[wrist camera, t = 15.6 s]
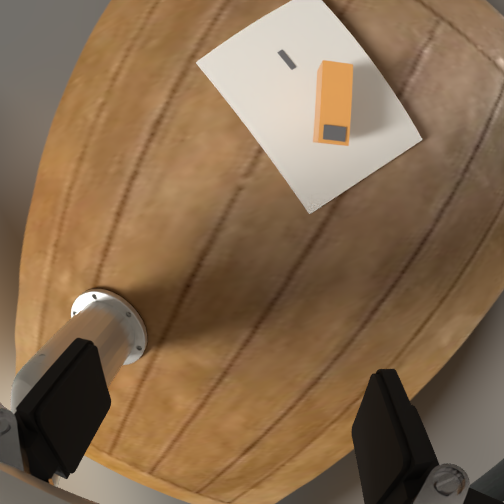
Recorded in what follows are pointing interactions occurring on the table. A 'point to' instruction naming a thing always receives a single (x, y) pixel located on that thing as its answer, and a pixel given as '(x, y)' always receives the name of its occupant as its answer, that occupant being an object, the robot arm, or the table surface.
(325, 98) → the orange block on post
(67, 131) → the table surface
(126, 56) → the table surface
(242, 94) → the base plate
